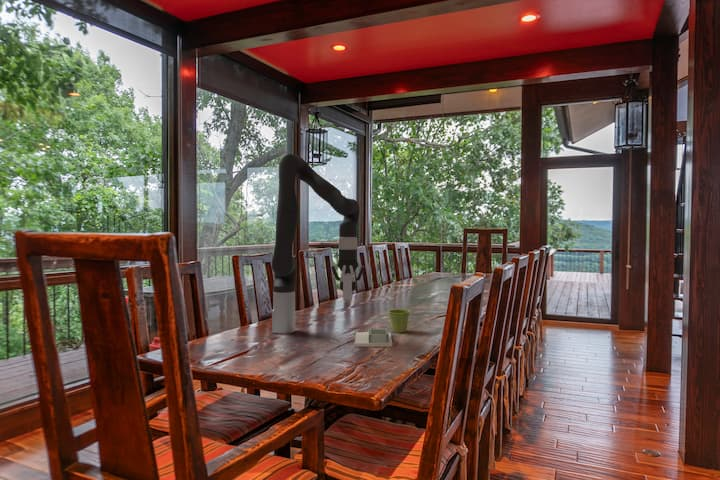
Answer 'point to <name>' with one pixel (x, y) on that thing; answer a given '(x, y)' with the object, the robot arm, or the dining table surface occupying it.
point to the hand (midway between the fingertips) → (347, 290)
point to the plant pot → (399, 320)
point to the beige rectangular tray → (373, 338)
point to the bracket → (347, 287)
